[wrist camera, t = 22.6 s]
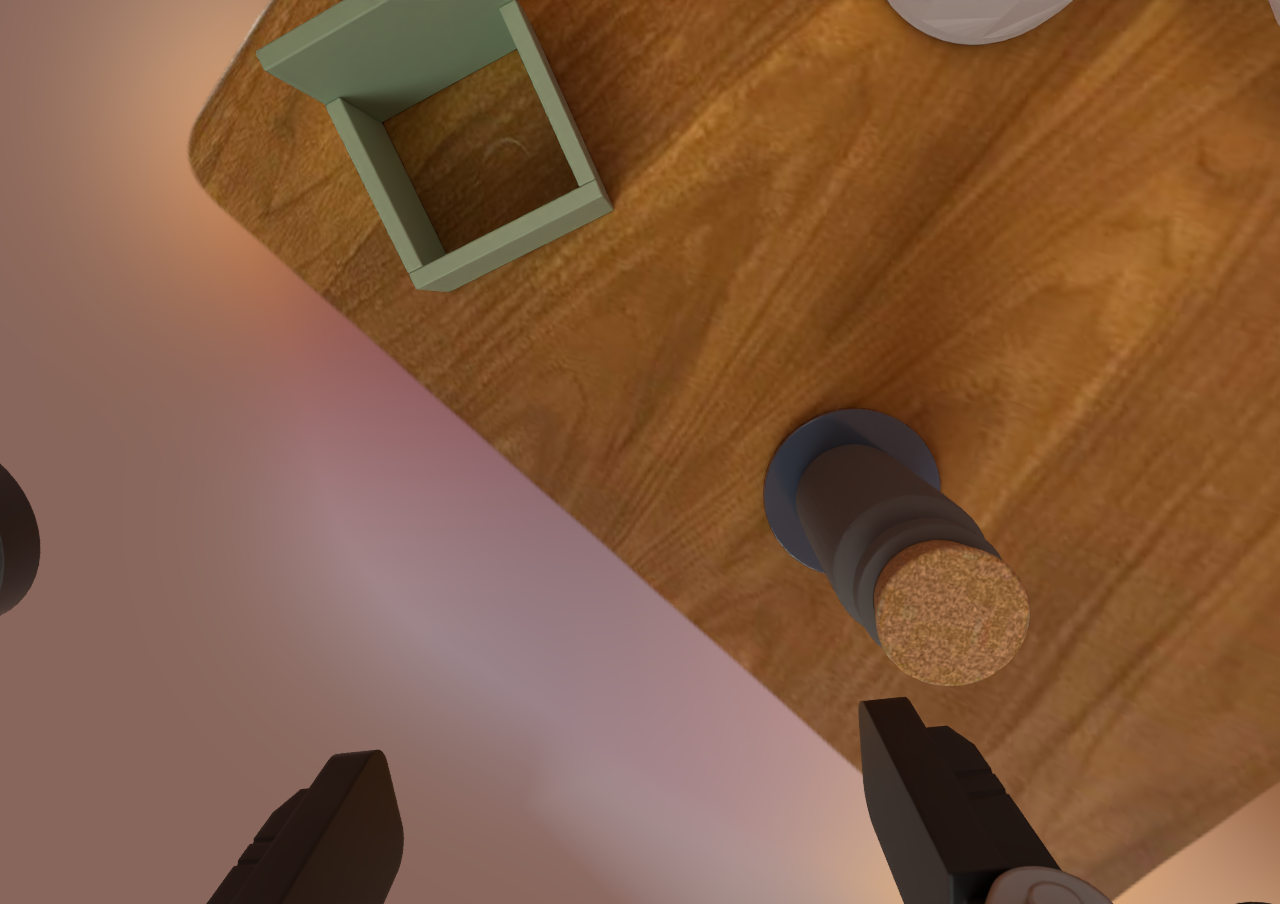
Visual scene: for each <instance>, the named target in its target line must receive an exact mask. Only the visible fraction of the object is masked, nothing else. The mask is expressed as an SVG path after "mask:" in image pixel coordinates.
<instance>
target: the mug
mask: <svg viewBox="0 0 1280 904" xmlns="http://www.w3.org/2000/svg"><path fill="white" fill-rule="evenodd" d="M887 1H888V2H889V3H890V5H891V6H892V7H893V8H894V10H895V11H896V12H897V13H898V14H899V15H900V16H901V17H902V18H903V19H905V20H906V21H907V22H909V23H910V24H911V25H913V26H914V27H915V28H917V29H919V30H921V31H922V32H924V33H926V34H928V35H930V36H933V37H935V38H938V39H941V40H944V41H948V42H953V43H957V44H969V45H977V44H990V43H994V42H999V41H1004V40H1007V39H1010V38H1013V37H1016V36H1019V35H1021V34H1023V33H1025V32H1027V31H1029V30H1031V29H1033V28H1035V27H1037V26H1038V25H1040V24H1042V23H1043V22H1045V21H1046V20H1048V19H1049V18H1051V17H1052V16H1054V15H1055V14H1057V13H1058V12H1060V11H1061V10H1062V9H1063V8H1065V7H1066V6H1067V5H1068V4H1070V3H1071V2H1072V1H1073V0H887Z"/></svg>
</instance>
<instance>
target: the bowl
mask: <svg viewBox="0 0 1280 904" xmlns="http://www.w3.org/2000/svg"><path fill="white" fill-rule="evenodd" d="M1268 1H1269V3H1270V6H1271V9H1272V11H1273V14H1274V16H1275V19H1276V21H1277V24H1278V25H1279V26H1280V0H1268Z"/></svg>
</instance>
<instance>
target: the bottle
mask: <svg viewBox="0 0 1280 904" xmlns="http://www.w3.org/2000/svg"><path fill="white" fill-rule="evenodd" d="M796 510H797V514H798V517H799V520H800V522H801V525H802V527H803V529H804V531H805V533H806V535H807V538H808V540H809V542H810V544H811V546H812V548H813V550H814V552H815V554H816V556H817V558H818V560H819V562H820V564H821V566H822V568H823V570H824V572H825V574H826V576H827V578H828V580H829V581H830V583H831V585H832V587H833V589H834V591H835V593H836V595H837V596H838V598H839V600H840V602H841V604H842V605H843V606H844V608H845V609H846V611H847V612H848V613H849V614H850V616H851V617H853V618H854V619H855V620H856V621H857V622H858V623H860V624H861V625H862V626H864V627H865V629H866V630H867V632H868V633H869V635H870V636H871V637H872V638H873V640H874V641H875V642H876V643H877V644H878V645H880V646H881V647H882V648H883V649H884V651H885V652H886V654H887V656H888V657H889V658H890V659H891V660H892V661H893V662H894V663H895V665H896V666H897V667H899V668H900V669H901V670H902V671H904V672H905V673H906V674H908V675H910V676H912V677H913V678H916V679H918V680H920V681H923V682H926V683H930V684H934V685H941V686H960V685H965V684H969V683H973V682H977V681H980V680H982V679H985V678H987V677H989V676H991V675H992V674H994V673H995V672H997V671H998V670H1000V669H1001V668H1003V667H1004V666H1005V665H1006V664H1007V663H1008V662H1009V661H1010V660H1011V659H1012V658H1013V657H1014V655H1015V654H1016V653H1017V652H1018V650H1019V649H1020V647H1021V645H1022V643H1023V641H1024V639H1025V636H1026V634H1027V629H1028V625H1029V619H1030V609H1029V600H1028V597H1027V593H1026V590H1025V588H1024V585H1023V584H1022V582H1021V580H1020V579H1019V577H1018V576H1017V575H1016V573H1015V572H1014V571H1013V570H1012V569H1011V568H1010V567H1009V566H1008V565H1007V564H1006V563H1005V562H1004V561H1002V559H1001V557H1000V555H999V553H998V552H997V551H996V550H995V549H994V547H993V546H992V545H991V544H990V543H989V542H988V541H987V540H985V538H984V535H983V534H982V532H981V530H980V528H979V527H978V525H977V524H976V523H975V522H974V520H973V519H972V518H971V517H970V516H969V515H968V514H967V513H966V512H965V511H964V510H963V509H962V508H960V507H959V506H958V505H956V504H955V503H954V502H953V501H951V500H950V499H949V498H947V497H946V496H945V495H944V494H942V493H941V492H939V491H938V490H937V489H935V488H934V487H933V486H931V485H930V484H928V483H927V482H926V481H924V480H923V479H922V478H920V477H919V476H918V475H916V474H915V473H913V472H912V471H911V470H909V469H908V468H907V467H905V466H904V465H902V464H901V463H900V462H898V461H897V460H895V459H894V458H892V457H891V456H889V455H888V454H886V453H884V452H883V451H881V450H879V449H876V448H873V447H870V446H866V445H859V444H848V445H843V446H839V447H835V448H832V449H830V450H828V451H826V452H824V453H822V454H821V455H819V456H818V457H817V458H816V459H814V460H813V461H812V462H811V463H810V464H809V466H808V467H807V468H806V469H805V471H804V472H803V474H802V476H801V478H800V480H799V483H798V487H797V490H796Z"/></svg>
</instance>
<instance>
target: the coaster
mask: <svg viewBox="0 0 1280 904" xmlns="http://www.w3.org/2000/svg"><path fill="white" fill-rule="evenodd" d="M848 444H859V445H866V446H870V447H873V448H876V449H879V450H881V451H883V452H884V453H886V454H888V455H889V456H891V457H892V458H894V459H895V460H897V461H898V462H900V463H901V464H902V465H904V466H905V467H907V468H908V469H909V470H911V471H912V472H913V473H915V474H916V475H918V476H919V477H920V478H922V479H923V480H924V481H926V482H927V483H928V484H930V485H931V486H933V487H934V488H935V489H937V490H938V491H939V492H940V478H939V472H938V468H937V465H936V462H935V460H934V458H933V455H932V453H931V451H930V450H929V448H928V447H927V445H926V444H925V442H924V441H923V440H922V439H921V438H920V436H919V435H918V434H917V433H916V432H915V431H913V430H912V429H911V428H910V427H909V426H907V425H906V424H904V423H903V422H901V421H900V420H898V419H896V418H894V417H892V416H890V415H887V414H885V413H882V412H879V411H875V410H871V409H865V408H843V409H836V410H832V411H827V412H825V413H822V414H819V415H816V416H814V417H812V418H810V419H809V420H807V421H805V422H804V423H802V424H801V425H799V426H798V427H796V428H795V429H794V430H793V431H792V432H791V433H789V434H788V435H787V437H786V438H785V439H784V440H783V441H782V442H781V443H780V445H779V446H778V448H777V449H776V451H775V452H774V454H773V456H772V458H771V460H770V462H769V465H768V468H767V471H766V475H765V480H764V488H763V500H764V508H765V512H766V516H767V519H768V522H769V525H770V527H771V529H772V531H773V533H774V535H775V537H776V539H777V540H778V541H779V543H780V544H781V546H782V547H783V548H784V549H785V550H786V551H787V552H788V553H789V554H790V555H791V556H792V557H794V558H795V559H796V560H797V561H799V562H800V563H802V564H804V565H805V566H807V567H809V568H811V569H813V570H816V571H818V572H822V573H825V572H824V570H823V568H822V566H821V564H820V562H819V560H818V558H817V556H816V554H815V552H814V550H813V548H812V546H811V544H810V542H809V540H808V538H807V535H806V533H805V531H804V529H803V527H802V525H801V522H800V520H799V517H798V514H797V510H796V490H797V487H798V483H799V480H800V478H801V476H802V474H803V472H804V471H805V469H806V468H807V467H808V466H809V464H810V463H811V462H812V461H813V460H814V459H816V458H817V457H818V456H819V455H821V454H822V453H824V452H826V451H828V450H830V449H832V448H835V447H839V446H843V445H848Z"/></svg>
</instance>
